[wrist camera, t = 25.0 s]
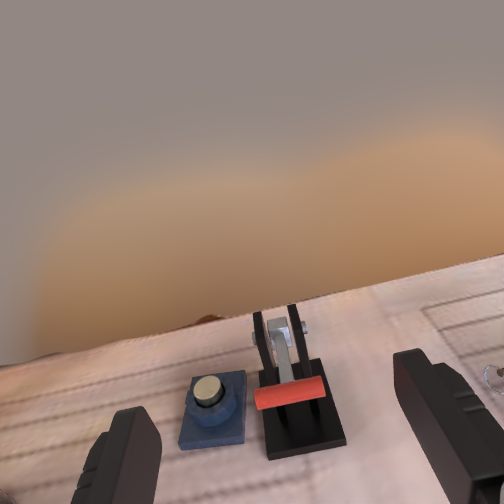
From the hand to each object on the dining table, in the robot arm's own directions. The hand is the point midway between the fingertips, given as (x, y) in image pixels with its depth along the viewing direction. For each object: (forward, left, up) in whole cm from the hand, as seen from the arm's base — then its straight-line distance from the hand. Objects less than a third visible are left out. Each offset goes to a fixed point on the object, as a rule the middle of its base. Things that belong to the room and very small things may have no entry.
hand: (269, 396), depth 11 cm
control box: (-13, +22, -30) cm, 39 cm away
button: (-13, +22, -27) cm, 37 cm away
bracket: (-2, +21, -30) cm, 37 cm away
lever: (-1, +16, -17) cm, 23 cm away
